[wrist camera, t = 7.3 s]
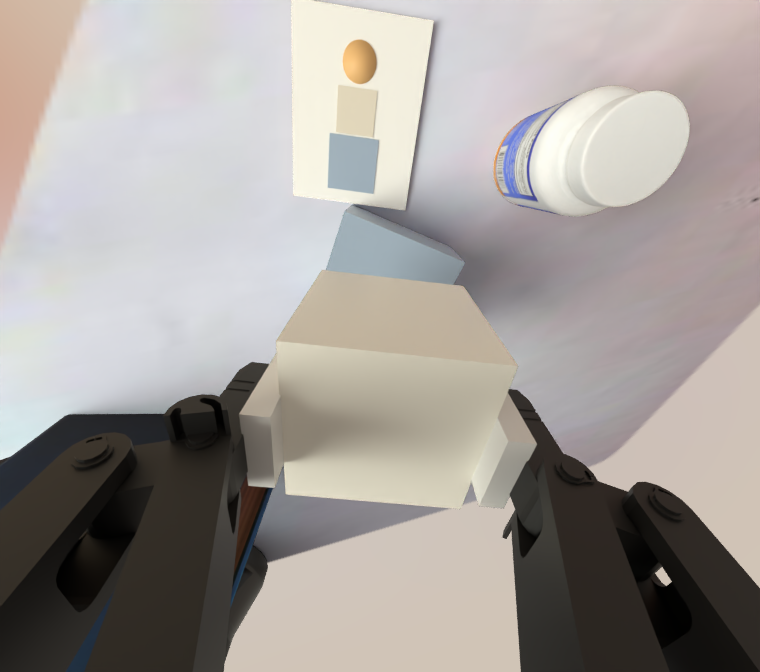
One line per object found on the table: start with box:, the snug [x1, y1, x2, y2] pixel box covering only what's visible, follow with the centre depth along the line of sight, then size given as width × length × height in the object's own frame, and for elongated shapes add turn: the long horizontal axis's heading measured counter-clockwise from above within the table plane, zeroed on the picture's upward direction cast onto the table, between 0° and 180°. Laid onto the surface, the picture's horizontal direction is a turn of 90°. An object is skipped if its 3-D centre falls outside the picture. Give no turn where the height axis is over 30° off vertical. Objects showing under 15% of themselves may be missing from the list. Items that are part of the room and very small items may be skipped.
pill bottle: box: [493, 86, 690, 217], centre depth 16 cm, size 5×5×10 cm
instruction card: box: [291, 0, 434, 211], centre depth 19 cm, size 10×8×1 cm
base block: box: [326, 205, 465, 285], centre depth 22 cm, size 8×8×5 cm
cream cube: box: [276, 270, 518, 509], centre depth 11 cm, size 6×6×6 cm
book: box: [0, 414, 273, 672], centre depth 20 cm, size 24×9×30 cm, turn 91°
